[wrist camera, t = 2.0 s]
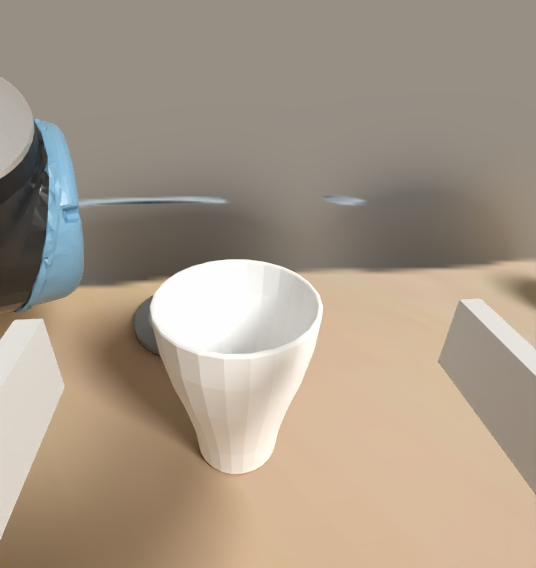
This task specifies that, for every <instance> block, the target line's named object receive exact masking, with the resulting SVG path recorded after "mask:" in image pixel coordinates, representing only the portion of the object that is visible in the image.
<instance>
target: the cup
mask: <svg viewBox="0 0 536 568" xmlns="http://www.w3.org/2000/svg"><path fill="white" fill-rule="evenodd" d="M322 311H323V305H322V302H321V299H320V296H319V294H318V292H317V291H316V290H315V289H314V287H313V286H312V285H311V283H310V282H308V281H307V280H306V279H304V278H303V277H301V276H300V275H299V274H297V273H295V272H293V271H290V270H288V269H286V268H284V267H281V266H277V265H274V264H270V263H267V262H261V261H254V260H220V261H212V262H207V263H203V264H200V265H195V266H192V267H190V268H187V269H185V270H183V271H181V272H178V273H176V274H175V275H173V276H172V277H170V278H169V279H168V280H166V281H165V282H164V283H163V284H162V285H161V286H160V287H159V289H158V290H157V291H156V292H155V293H154V295H153V298H152V301H151V304H150V315H151V322H152V326H153V330H154V334H155V338H156V342H157V346H158V350H159V353H160V356H161V358H162V361H163V363H164V366H165V368H166V370H167V373H168V375H169V378H170V380H171V383H172V385H173V387H174V389H175V391H176V393H177V394H178V396H179V398H180V400H181V402H182V403H183V405H184V407H185V409H186V411H187V413H188V415H189V417H190V420H191V422H192V424H193V426H194V429H195V431H196V434H197V439H198V443H199V447H200V451H201V454H202V455H203V457H204V459H205V461H206V462H208V463H209V464H210V465H211V466H212V467H213V468H215V469H217V470H219V471H221V472H225V473H229V474H243V473H247V472H250V471H253V470H255V469H257V468H259V467H260V466H262V465H263V464H264V463H265V462H266V461H267V460H268V459H269V457H270V456H271V454H272V452H273V450H274V446H275V442H276V437H277V433H278V429H279V427H280V425H281V422H282V420H283V418H284V415H285V413H286V411H287V408H288V406H289V405H290V403H291V401H292V399H293V397H294V395H295V394H296V392H297V390H298V388H299V386H300V384H301V382H302V379H303V377H304V374H305V372H306V369H307V367H308V364H309V362H310V359H311V357H312V354H313V352H314V348H315V344H316V340H317V336H318V331H319V327H320V323H321V318H322Z"/></svg>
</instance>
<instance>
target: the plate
mask: <svg viewBox="0 0 536 568" xmlns="http://www.w3.org/2000/svg"><path fill="white" fill-rule="evenodd" d="M152 298H153V296H151V297H150V298H149V299H147V300H146V301H145V302H144V303H142V305H141V306H140V307H139V308H138V310H137V312H136V314H135V318H134V325H135V331H136V335H137V338H138V340H139V342H140V343H141V344H142V345H143V346H144V347H145V348H146V349H147V350H149V351H151V352H152V353H155V354H157V355H159V356H160V353H159V350H158V346H157V342H156V338H155V334H154V330H153V326H152V322H151V315H150V304H151V301H152Z"/></svg>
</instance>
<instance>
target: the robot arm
mask: <svg viewBox="0 0 536 568" xmlns="http://www.w3.org/2000/svg"><path fill="white" fill-rule="evenodd" d="M78 211H79V205H78V191H77V185H76V179H75V174H74V170H73V164H72V160H71V156H70V153H69V149H68V146H67V143H66V140H65V137H64V135H63V133H62V131H61V130H60V129H59V128H58V127H57V126H56V125H55V124H52V123H50V122H43V121H41V120H39V119H35V118H34V119H33V116H32V113H31V110H30V107H29V105H28V104H27V102H26V100H25V99H24V97H23V96H22V95H21V93H20V92H19V91H18V90H17V89H16V88H15V87H14V86H13V85H11V84H10V83H9V82H8V81H7V80H5V79H4V78H2V77H1V76H0V314H4V313H8V312H13V311H14V312H21V311H25V310H28V309H29V308H31V307H32V306H34V305H38V304H42V303H46V302H49V301H53V300H57V299H61V298H64V297H66V296H68V295H69V294H71V293H72V292H73V291H74V290H75V289H76V288H77V287H78V285H79V283H80V281H81V278H82V274H83V265H84V247H83V232H82V223H81V219H80V216H79V214H78ZM438 362H439V363H440V365H441V366H442V368H443V369H444V370H445V372H446V373H447V374H448V376H449V377H450V378H451V380H452V381H453V383H454V384H455V385H456V387H457V388H458V389H459V391H460V392H461V393H462V395H463V396H464V398H465V399H466V400H467V402H468V403H469V404H470V406H471V407H472V408H473V410H474V411H475V413H476V414H477V415H478V417H479V418H480V419H481V421H482V422H483V423H484V425H485V426H486V428H487V429H488V430H489V432H490V433H491V434H492V436H493V437H494V438H495V440H496V441H497V443H498V444H499V445H500V447H501V448H502V449H503V451H504V452H505V453H506V455H507V456H508V458H509V459H510V460H511V462H512V463H513V464H514V466H515V467H516V468H517V470H518V471H519V473H520V474H521V475H522V477H523V478H524V479H525V481H526V482H527V483H528V485H529V486H530V488H531V489H532V490H533V492H534V493H535V494H536V349H535V348H533V347H532V346H531V345H530V344H529V343H528V342H527V341H526V340H525V339H524V338H523V337H522V336H520V335H519V334H518V333H517V332H516V331H515V330H514V329H513V328H512V327H511V326H510V325H509V324H507V323H506V322H505V321H504V320H503V319H502V318H501V317H500V316H499V315H498V314H497V313H495V312H494V311H493V310H492V309H491V308H490V307H489V306H488V305H487V304H486V303H485V302H484V301H482V300H481V299H463V300H459V303H458V306H457V308H456V311H455V314H454V317H453V320H452V323H451V326H450V329H449V331H448V334H447V337H446V340H445V343H444V346H443V349H442V351H441V354H440V357H439V360H438ZM64 387H65V386H64V383H63V380H62V377H61V373H60V370H59V367H58V364H57V361H56V358H55V355H54V352H53V349H52V346H51V343H50V339H49V336H48V333H47V330H46V327H45V324H44V321H43V319H22V320H14V321H13V323H12V324H11V325H10V327H9V328H8V330H7V331H6V332H5V334H4V335H3V337H2V338H1V340H0V539H1V537H2V535H3V532H4V530H5V527H6V525H7V523H8V520H9V518H10V516H11V513H12V511H13V508H14V506H15V504H16V501H17V499H18V497H19V494H20V492H21V489H22V487H23V485H24V482H25V480H26V478H27V475H28V473H29V470H30V468H31V466H32V463H33V461H34V459H35V456H36V454H37V451H38V449H39V447H40V444H41V442H42V440H43V437H44V435H45V432H46V430H47V428H48V425H49V423H50V421H51V418H52V416H53V413H54V411H55V409H56V406H57V404H58V402H59V399H60V397H61V394H62V392H63V390H64Z"/></svg>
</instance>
